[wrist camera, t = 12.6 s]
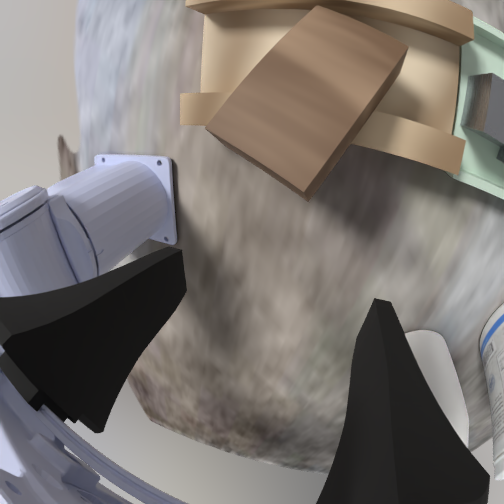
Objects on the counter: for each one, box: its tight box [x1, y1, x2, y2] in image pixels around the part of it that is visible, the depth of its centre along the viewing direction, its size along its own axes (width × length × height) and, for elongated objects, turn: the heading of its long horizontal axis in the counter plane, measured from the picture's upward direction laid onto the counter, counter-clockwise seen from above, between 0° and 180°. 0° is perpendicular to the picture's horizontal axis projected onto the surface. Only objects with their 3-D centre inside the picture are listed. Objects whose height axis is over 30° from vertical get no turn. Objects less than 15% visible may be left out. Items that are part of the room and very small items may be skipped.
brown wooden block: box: [205, 5, 409, 202], centre depth 10 cm, size 2×5×9 cm
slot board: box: [180, 0, 474, 175], centre depth 11 cm, size 16×10×3 cm, turn 86°
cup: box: [405, 330, 469, 448], centre depth 17 cm, size 9×9×12 cm
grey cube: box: [460, 73, 504, 149], centre depth 8 cm, size 4×4×4 cm
